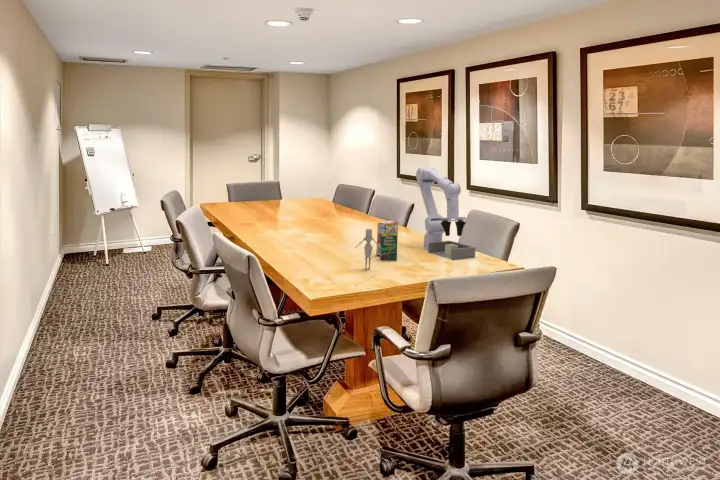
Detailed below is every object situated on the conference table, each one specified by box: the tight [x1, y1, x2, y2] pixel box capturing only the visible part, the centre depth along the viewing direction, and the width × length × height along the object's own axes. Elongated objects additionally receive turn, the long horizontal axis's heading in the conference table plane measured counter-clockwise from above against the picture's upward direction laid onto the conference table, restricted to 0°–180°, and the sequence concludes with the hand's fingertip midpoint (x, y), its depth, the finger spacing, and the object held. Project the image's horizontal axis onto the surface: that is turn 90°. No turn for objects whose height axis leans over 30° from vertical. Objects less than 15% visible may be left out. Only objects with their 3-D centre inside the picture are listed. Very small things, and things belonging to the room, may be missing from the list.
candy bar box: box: [375, 220, 399, 257], centre depth 275 cm, size 11×5×16 cm, turn 141°
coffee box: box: [379, 232, 398, 261], centre depth 263 cm, size 8×3×13 cm, turn 92°
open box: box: [427, 240, 476, 261], centre depth 277 cm, size 19×14×6 cm
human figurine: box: [354, 228, 381, 270], centre depth 243 cm, size 12×4×18 cm, turn 96°
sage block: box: [445, 244, 458, 256], centre depth 277 cm, size 4×4×5 cm
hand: (453, 236), depth 275 cm, fingers open, 7 cm apart
